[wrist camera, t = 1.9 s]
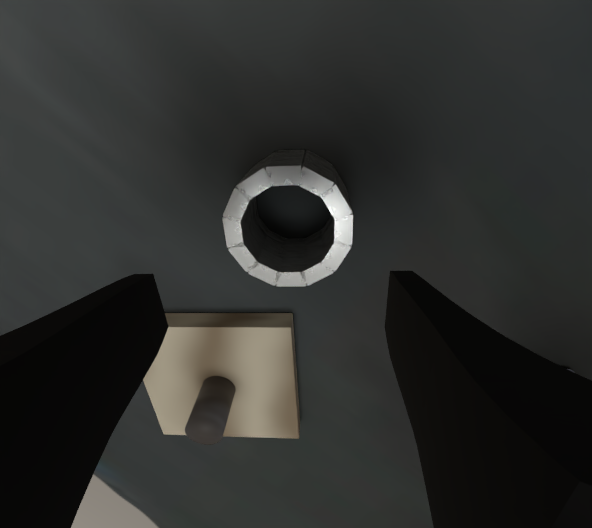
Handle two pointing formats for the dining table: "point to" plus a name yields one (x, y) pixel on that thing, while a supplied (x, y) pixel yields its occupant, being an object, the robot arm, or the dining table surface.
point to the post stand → (226, 376)
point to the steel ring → (274, 248)
